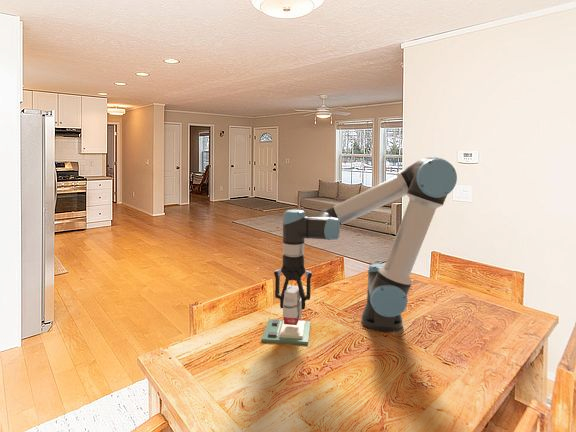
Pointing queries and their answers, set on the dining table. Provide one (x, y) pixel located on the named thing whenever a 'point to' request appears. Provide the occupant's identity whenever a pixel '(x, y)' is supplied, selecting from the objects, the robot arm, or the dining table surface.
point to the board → (286, 332)
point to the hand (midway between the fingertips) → (292, 316)
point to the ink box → (291, 305)
